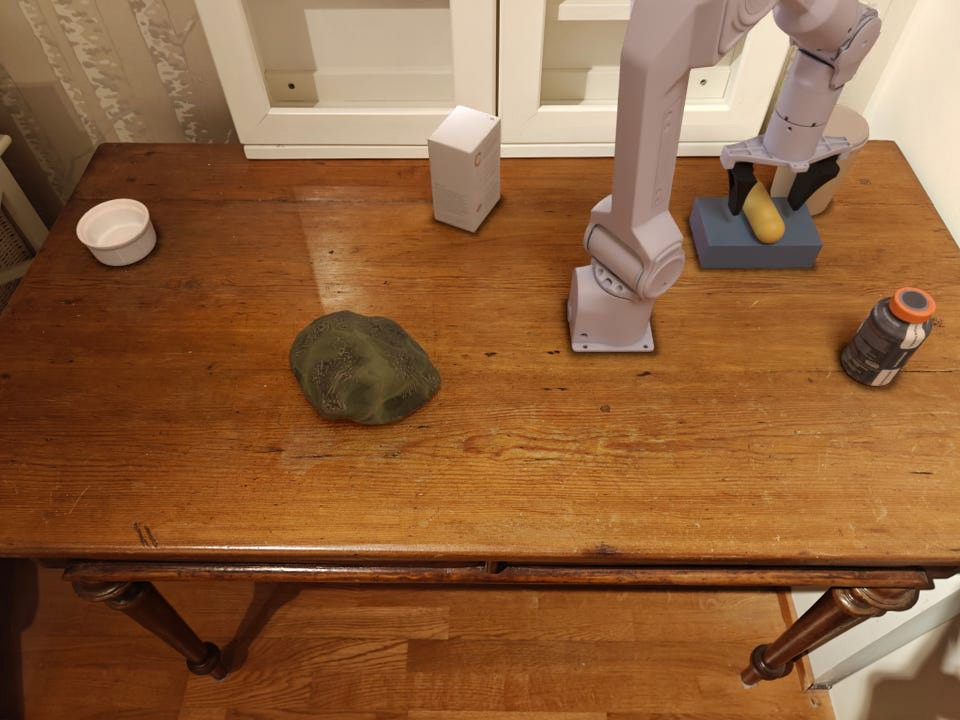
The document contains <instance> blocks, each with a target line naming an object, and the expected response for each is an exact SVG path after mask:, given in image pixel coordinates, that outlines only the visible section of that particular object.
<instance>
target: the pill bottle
mask: <svg viewBox="0 0 960 720" xmlns="http://www.w3.org/2000/svg"><path fill="white" fill-rule="evenodd" d="M936 309H937V303H936V302H935V300H934V298H933V297H932V295H930V294H929V293H927V292H926V291H924V290H922V289H920V288H917V287H913V286H905V287H901V288H899V289H897V290H896V291H895V292H894V294H893V295H892V296H888V297H884V298H881V299H880V300H878V301H877V302H875V304H874V305H873V306H872V308H871V309H870V311H869V312H868V313H867V315H866V316H865V318H863V321H862V322H861V324H860V326H858V328H857V330H856V332H855V333H854V335H853V336H852V337H851V339H850V341H849V342H848V344H847V345H846V347H845V348H844V350H843V351H842V353H841V358H840V360H841V364H842V367H843V369H844V371H845V372H846V373H847V374H848V376H850V377H851V378H853V379H854V380H855V381H857V382H858V383H862V384H864V385H867V386H871V387H879V386H885V385H888V384H891V382H893V380H894V379H895V378H896V377H897V376H898V375H899V373H900V372H901V371H902V369H904V367H905V366H906V364H907V363H908V362H909V361H910V359H912V357H913V356H914V354H915V353H916V352H917V350H918V349H920V347H921V346H922V345H923V344H924V343H925V341H926V339H927V338H928V337H929V336H930V334H931V332H932V330H933V319H932V316H933V314H934V313H935V312H936Z"/></svg>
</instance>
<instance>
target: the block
mask: <svg viewBox="0 0 960 720" xmlns="http://www.w3.org/2000/svg"><path fill="white" fill-rule="evenodd" d="M770 198H771V200H772V202H773V204H774V205H775V207H776V209H777V211H778V213H779V215H780V217H781V218H782V220H783V222H784V225H785V232H784V234H783V236H782V238H781V239H779V240H778V241H776V242H774V243H764V242H762V241H760V240H759V239H758V238H757V236H756V235H755V233H754V231H753V229H752V227H751V225H750V222H749V220H748V218H747V216H746V214H745V212H744V210H743V208H742V210H741V212H740V214H739V215H738V216H733V215H732V214H731V212H730V209H729V207H728V200H729V196H714V197H713V196H707V197H706V196H704V197H703V196H702V197H701V196H700V197H699V196H696V197H695V199H694V203H693V206H692V209H691V212H690V215H689V219H688V222H689V226H690V229H691V234H692V237H693V241H694V245H695V249H696V253H697V257H698V261H699V264H700V265H699V266H700V268H701V269H811V268H812V267H813V265H814V264H815V261H816V260H817V258H818V255H819V254H820V252H821V250H822V249H823V247H824V244H823V241H822V239H821V236H820V234H819V231H818V228H817V227H816V224H815V222H814V219H813V217H812V216H811V214H810V212H809V210H808V207H807V205H806V202H805V203H804V204H803V205H802V206H801V208H800V209H799V210H798V211H793V210H792V208H791V206H790V205H789V203H788V201H787V199H788V197H771V196H770Z"/></svg>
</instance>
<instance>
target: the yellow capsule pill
mask: <svg viewBox="0 0 960 720" xmlns="http://www.w3.org/2000/svg"><path fill="white" fill-rule="evenodd" d="M756 179H757V181H758V182H757V183H756V185H755V186H754V187H753V188H752V189H751V191H750V192H749V194H748V196H747V198H746V200H745V202H744V205H743V210H744V212H745V214H746V216H747V218H748V220H749V222H750V225H751V227H752V229H753V231H754V233H755V235H756V236H757V238H758V239H759V240H760V241H762V242H764V243H774V242H776V241H778V240H779V239H781V238H782V236H783V234H784V232H785V225H784V222H783V220H782V218H781V217H780V215H779V213H778V211H777V209H776V207H775V205H774V204H773V202H772V200H771V198H770V197H771V195H770V194H769V192H768V190H767V189H766V187H765V185H764V183H763V182H762V181H761V180H760V179H758V178H756Z"/></svg>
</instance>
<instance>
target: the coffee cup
mask: <svg viewBox="0 0 960 720" xmlns="http://www.w3.org/2000/svg"><path fill="white" fill-rule="evenodd" d="M822 135H829V136H846V137H847V138H848V140H849V141H850V143H851V144H852V146H853V147H852V149H851V151H850V153H849V155H848V157H847V159H846V160H837V161H836V162H837V164H838V165H839V167H840V171H839V173H838V175H837V177H836V178H834V179H832V180H830V181H829V182H827V183H826V184H824V185H823V186H821V187H820V188H819V189H818V190H817V191H816V192H814V193H813V194H812V195H811V196H810V197H809V199H808V200H807V201H806V205H807V207H808V210H809V212H810V214H811V217H812V216H815V215H819V214H821V213H822V212H823V211H825V209H826V208H827V207H828V205H829V204H830V202H831V201H832V199H833V198H834V196H835V194H836V193H837V191H838V190H839V188H840V186H841V185H842V183H843V181H844V180H845V178H846V176H847V174H848V173H849V171H850V170H851V168H852V166H853V165H854V163H855V161H856V160H857V159H858V156H859V154H860V153H861V151H862V150H863V148H864V147H865V146H866V145H867V143H868V141H869V139H870V125H869V123H868V121H867V119H866V118H865V117H864V116H863V115H862V114H861V113H859V112H857V110H855V109H853V108H850V107H848V106H846V105H842V104H839V103H836V105H835V107H834V110H833V112H832V114H831V116H830V118H829V120H828V123H827V125H826V127H825V129H824V132H823V134H822ZM796 175H797V173H792V172H790V171H789V169H788V168H787V167H780V166H777V167H776V171H775V175H774V177H773V181H772V184H771V188H770V192H769V193H770V194H769V195H770V197H788V195H789V192H790V189H791V187H792V184H793V182H794V180H795V177H796Z"/></svg>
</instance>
